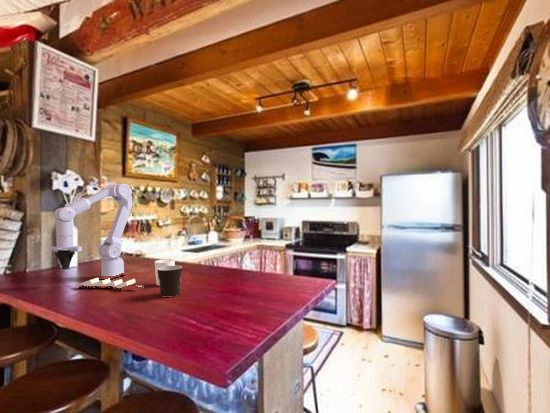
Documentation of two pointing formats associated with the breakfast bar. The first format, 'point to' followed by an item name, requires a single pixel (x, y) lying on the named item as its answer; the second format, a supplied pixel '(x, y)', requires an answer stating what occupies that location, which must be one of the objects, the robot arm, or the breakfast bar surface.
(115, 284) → the domino
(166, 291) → the coffee mug
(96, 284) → the domino
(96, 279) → the domino
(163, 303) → the breakfast bar surface
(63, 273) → the breakfast bar surface
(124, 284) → the domino
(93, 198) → the robot arm
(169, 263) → the white cup
